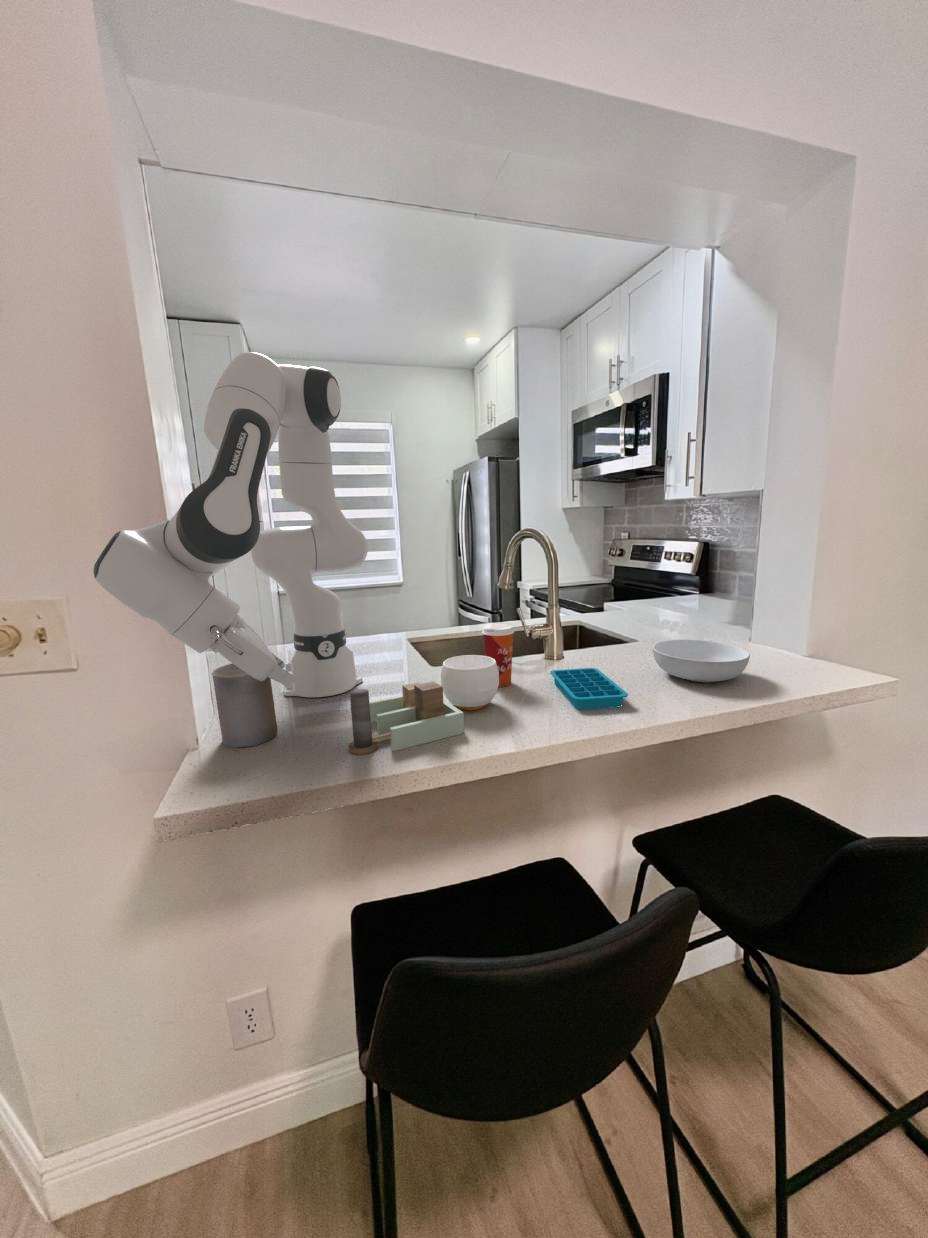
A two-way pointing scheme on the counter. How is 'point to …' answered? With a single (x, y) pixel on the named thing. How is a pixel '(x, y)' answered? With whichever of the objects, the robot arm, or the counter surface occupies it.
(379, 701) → the lane rack
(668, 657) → the serving bowl
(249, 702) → the pillar candle
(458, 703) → the white deep bowl
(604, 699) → the ice cube tray
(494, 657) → the paper cup
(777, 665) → the counter surface
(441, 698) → the tethered walnut block
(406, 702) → the oak block
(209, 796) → the counter surface
